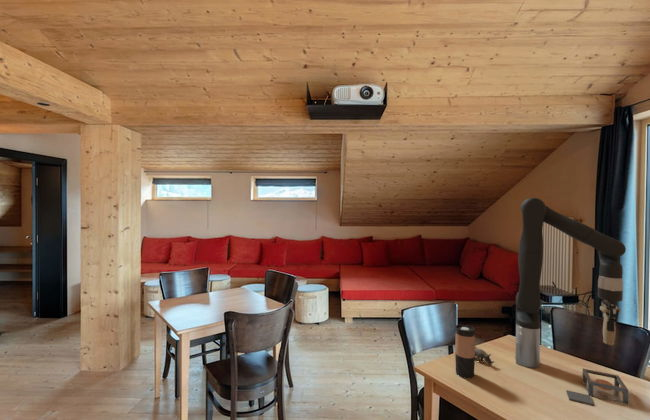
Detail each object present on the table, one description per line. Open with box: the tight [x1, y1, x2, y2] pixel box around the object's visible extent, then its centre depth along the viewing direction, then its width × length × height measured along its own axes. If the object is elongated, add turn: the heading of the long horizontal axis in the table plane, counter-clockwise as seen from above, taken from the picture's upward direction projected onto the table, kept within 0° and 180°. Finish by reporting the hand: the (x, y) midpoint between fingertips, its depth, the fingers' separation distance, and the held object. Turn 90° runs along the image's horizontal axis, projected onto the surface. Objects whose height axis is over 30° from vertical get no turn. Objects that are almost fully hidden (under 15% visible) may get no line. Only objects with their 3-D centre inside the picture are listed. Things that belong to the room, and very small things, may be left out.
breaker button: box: [594, 378, 614, 390], centre depth 120 cm, size 5×5×1 cm
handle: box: [599, 305, 621, 346], centre depth 128 cm, size 5×6×15 cm
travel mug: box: [454, 323, 476, 379], centre depth 133 cm, size 8×8×20 cm
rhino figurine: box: [475, 346, 495, 366], centre depth 144 cm, size 4×14×6 cm, turn 26°
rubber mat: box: [566, 389, 595, 406], centre depth 117 cm, size 7×6×1 cm
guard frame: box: [581, 368, 629, 405], centre depth 120 cm, size 11×11×5 cm
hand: (608, 328), depth 129 cm, fingers closed on handle, 4 cm apart
